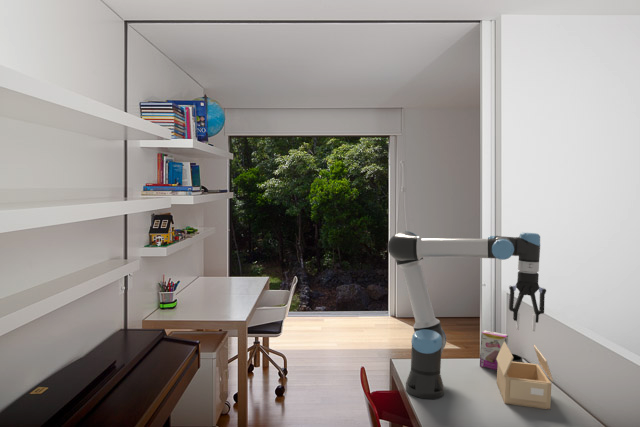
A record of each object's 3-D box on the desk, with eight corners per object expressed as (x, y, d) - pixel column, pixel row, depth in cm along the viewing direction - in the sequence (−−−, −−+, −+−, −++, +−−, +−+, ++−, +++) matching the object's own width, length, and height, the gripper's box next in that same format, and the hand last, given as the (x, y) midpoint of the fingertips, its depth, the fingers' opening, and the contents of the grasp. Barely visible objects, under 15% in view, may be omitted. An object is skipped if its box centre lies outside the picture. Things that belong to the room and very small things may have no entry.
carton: (505, 404, 171) (506, 378, 171) (496, 382, 192) (497, 359, 192) (550, 410, 168) (552, 384, 167) (536, 387, 189) (538, 363, 188)
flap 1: (504, 376, 172) (503, 375, 172) (497, 359, 191) (496, 358, 191) (513, 357, 171) (512, 357, 172) (505, 342, 190) (503, 341, 190)
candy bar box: (479, 366, 210) (481, 332, 209) (481, 363, 214) (483, 329, 213) (504, 372, 204) (506, 336, 203) (506, 369, 208) (508, 334, 207)
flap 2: (539, 363, 187) (540, 363, 187) (552, 381, 169) (553, 381, 168) (533, 345, 187) (534, 344, 187) (545, 361, 169) (546, 360, 169)
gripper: (505, 271, 177) (502, 329, 178) (556, 275, 172) (552, 334, 173) (502, 268, 184) (499, 324, 185) (550, 271, 180) (547, 329, 181)
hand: (525, 329), depth 179 cm, fingers open, 5 cm apart
